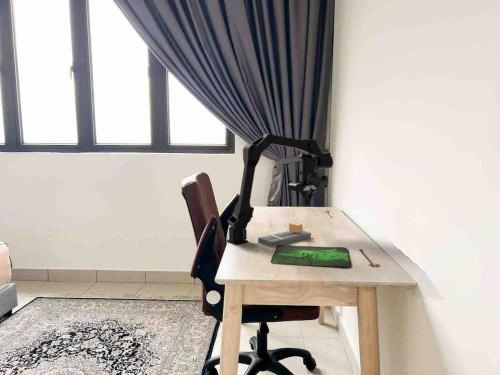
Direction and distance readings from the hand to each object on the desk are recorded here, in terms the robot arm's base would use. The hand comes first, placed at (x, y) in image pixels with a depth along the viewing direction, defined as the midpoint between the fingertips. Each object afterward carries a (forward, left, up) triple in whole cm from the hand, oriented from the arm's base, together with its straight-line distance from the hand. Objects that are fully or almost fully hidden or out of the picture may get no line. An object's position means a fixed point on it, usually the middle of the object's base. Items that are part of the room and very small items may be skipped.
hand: (307, 205), depth 162 cm
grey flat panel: (-13, 0, -13) cm, 18 cm away
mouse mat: (-20, -21, -14) cm, 31 cm away
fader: (-7, 0, -10) cm, 13 cm away
